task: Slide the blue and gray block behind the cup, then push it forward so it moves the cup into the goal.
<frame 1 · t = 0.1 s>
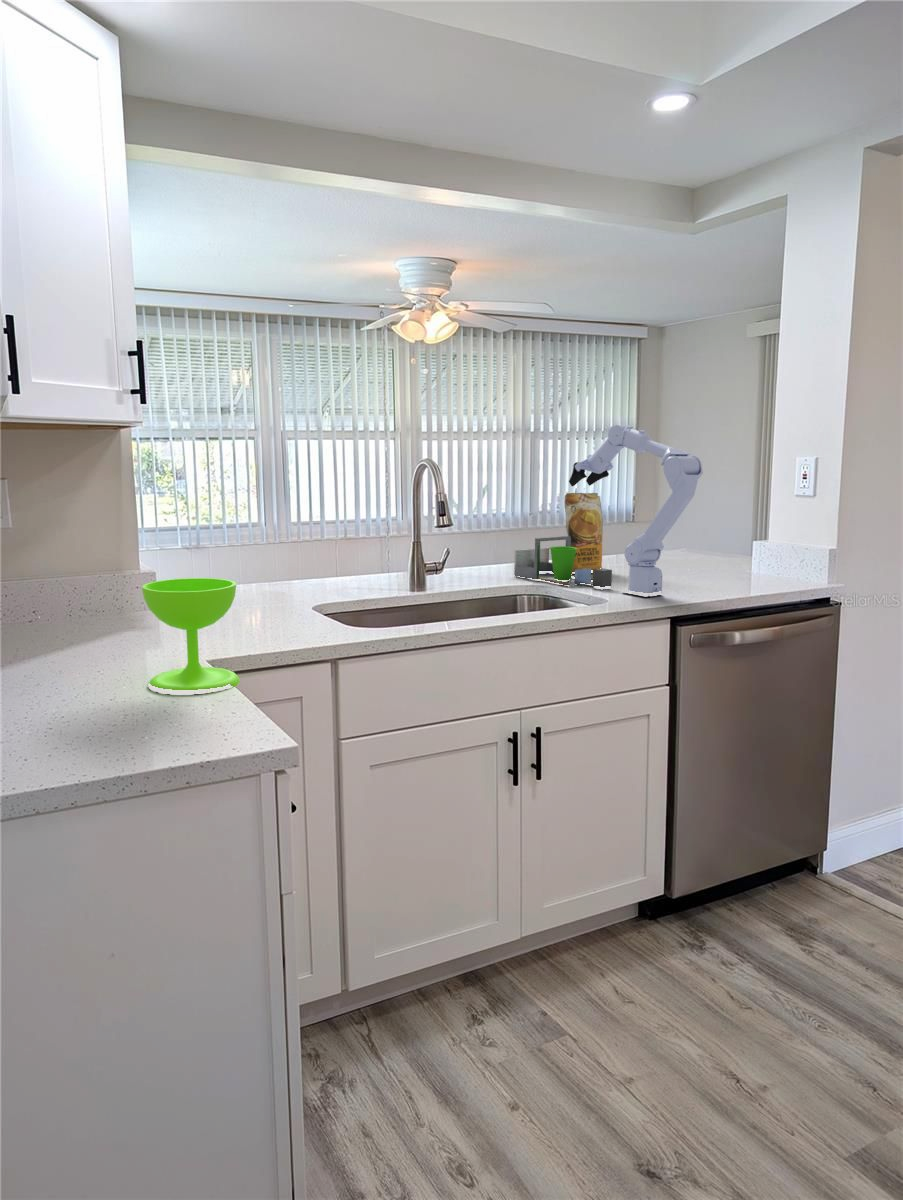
hand: (579, 483, 267), 32 cm above the worktop, tool tilted 50°, fingers open, 7 cm apart
lane rails: (567, 582, 273), on the worktop
cup: (562, 581, 275), on the worktop
goal: (551, 579, 279), on the worktop
wineglass: (194, 684, 151), on the worktop
pancake mix bag: (582, 573, 294), on the worktop
blue and gray block: (594, 577, 263), point 3 cm above the worktop, slide at 0.0 cm
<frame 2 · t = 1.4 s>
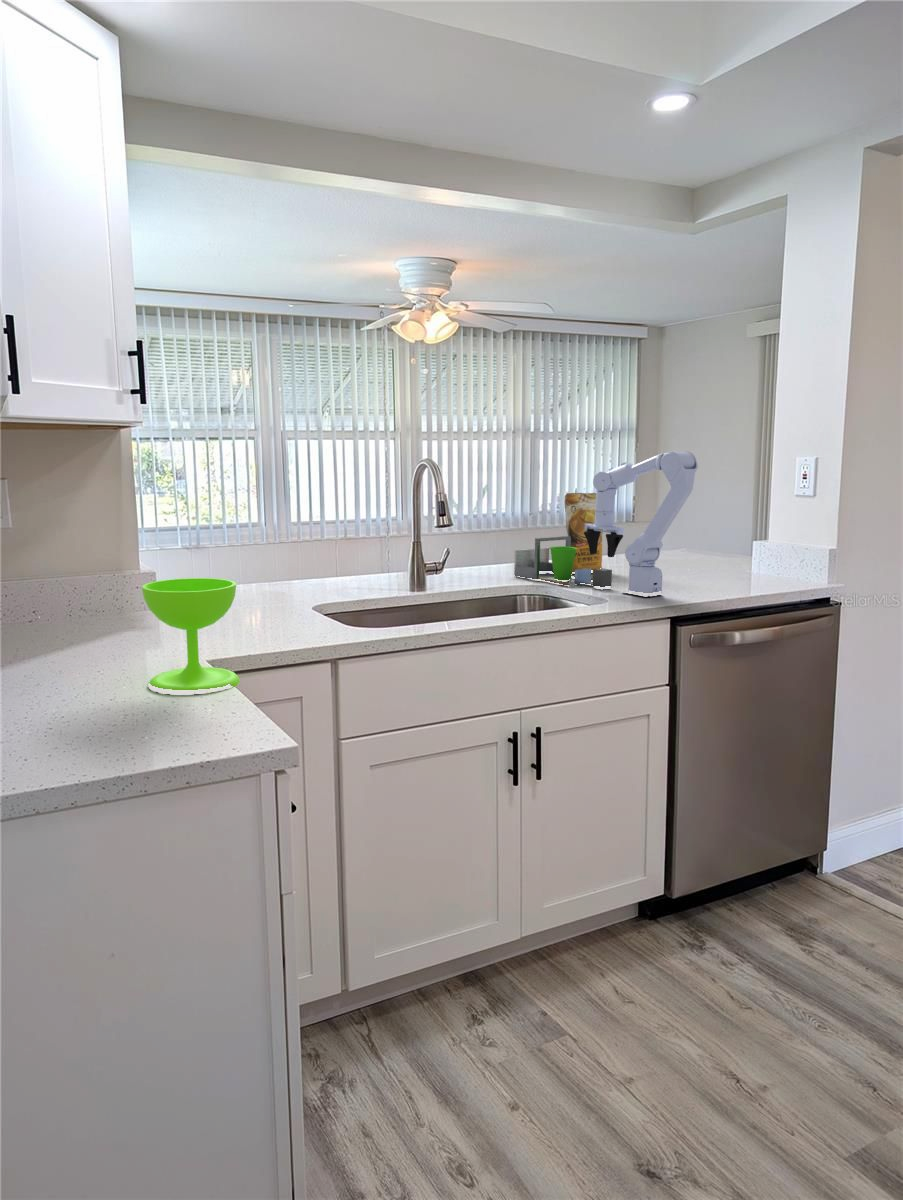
hand: (602, 555, 259), 10 cm above the worktop, tool pointing down, fingers open, 7 cm apart
nothing on the worktop moved.
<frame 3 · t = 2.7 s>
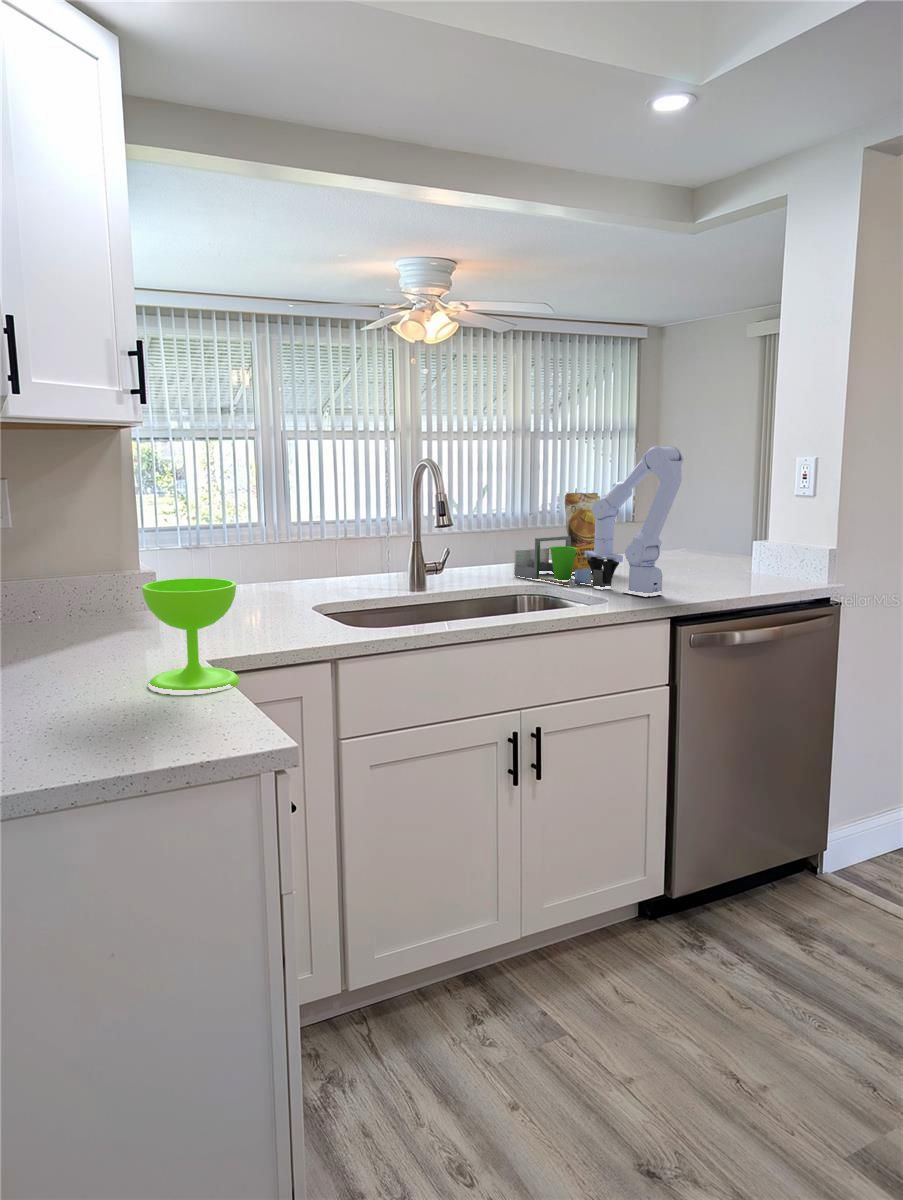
hand: (602, 582, 261), 2 cm above the worktop, tool pointing down, fingers closed on blue and gray block, 4 cm apart
blue and gray block: (594, 577, 263), point 3 cm above the worktop, slide at 0.0 cm, touching gripper
everything else where it was.
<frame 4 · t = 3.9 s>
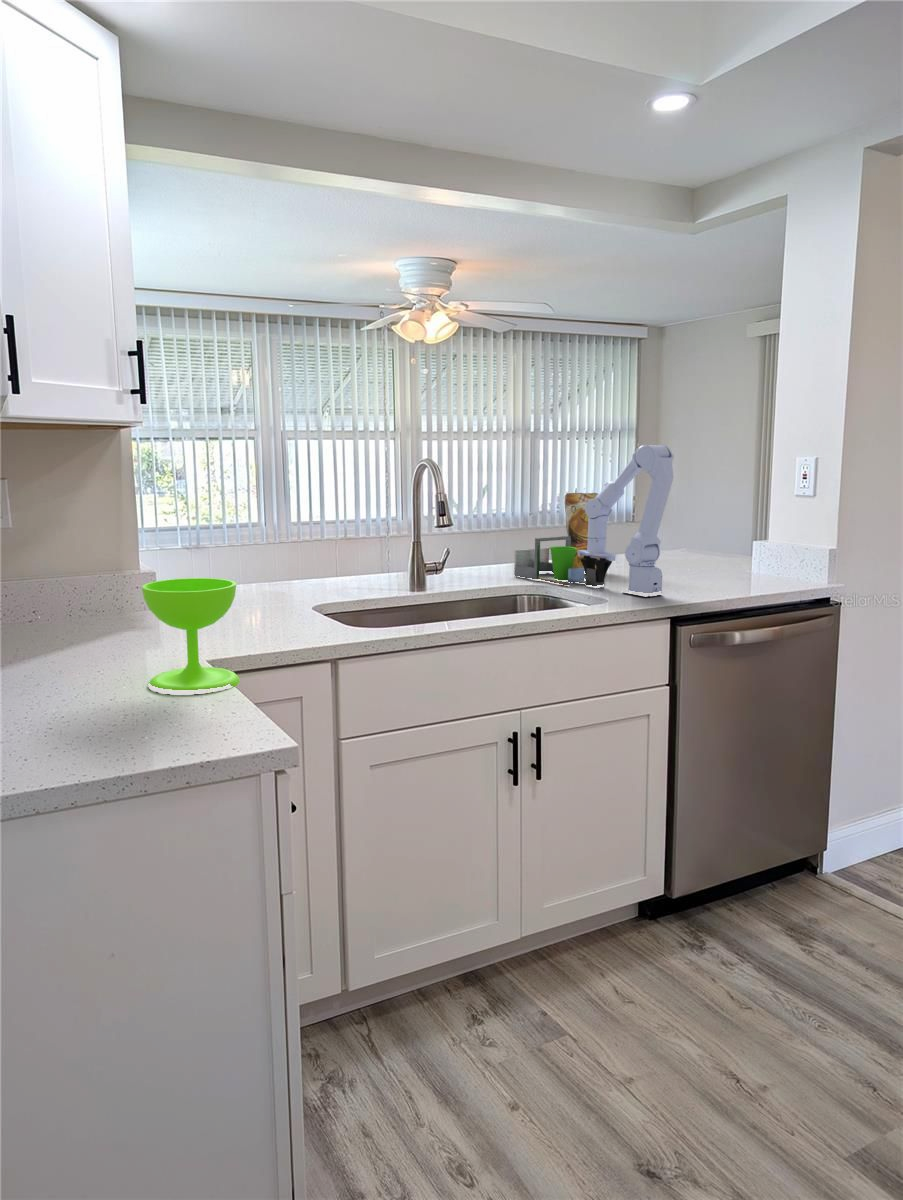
hand: (595, 581, 263), 2 cm above the worktop, tool pointing down, fingers closed on blue and gray block, 4 cm apart
blue and gray block: (587, 576, 266), point 3 cm above the worktop, slide at 3.0 cm, touching gripper
everything else where it was.
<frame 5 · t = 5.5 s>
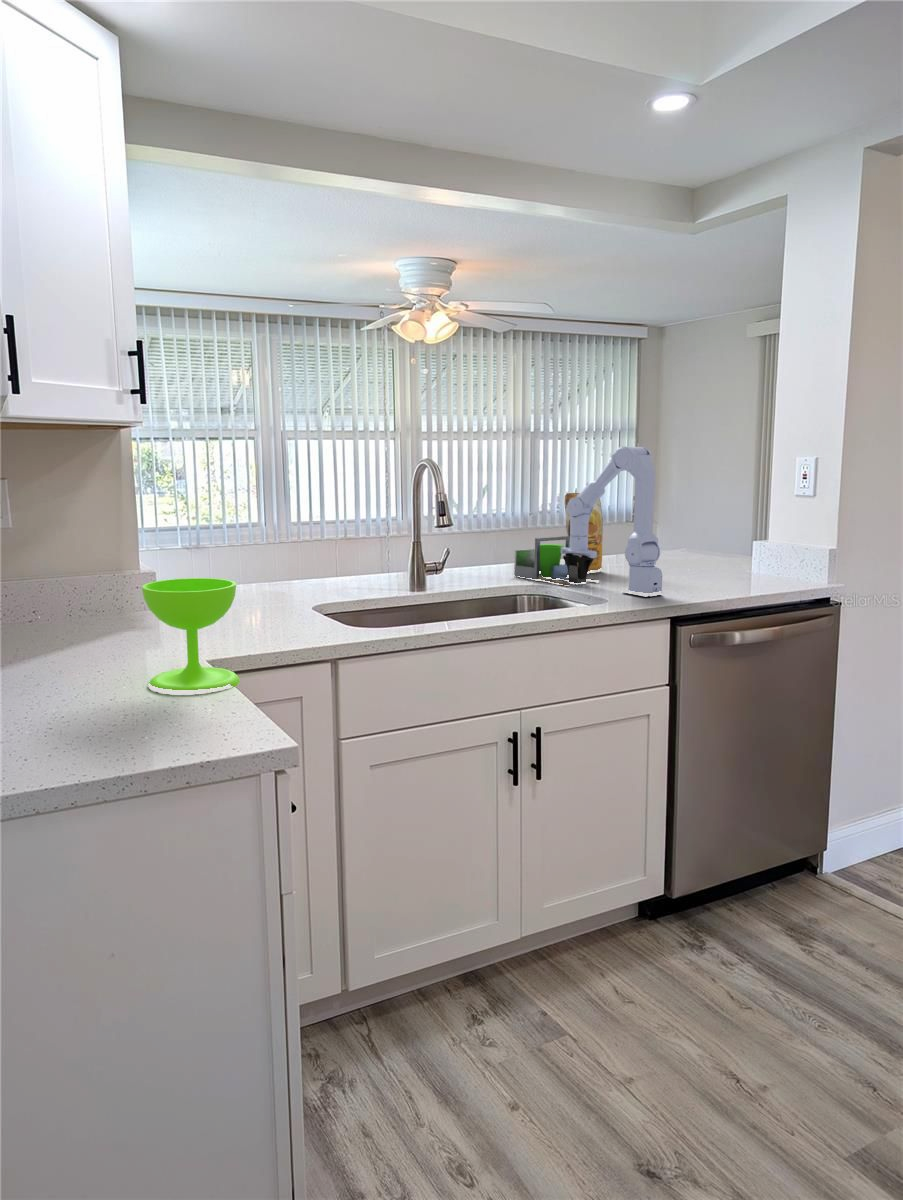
hand: (577, 578, 269), 2 cm above the worktop, tool pointing down, fingers closed on blue and gray block, 4 cm apart
cup: (549, 579, 281), on the worktop, touching blue and gray block
blue and gray block: (569, 573, 272), point 3 cm above the worktop, slide at 10.9 cm, touching cup, gripper
everything else where it was.
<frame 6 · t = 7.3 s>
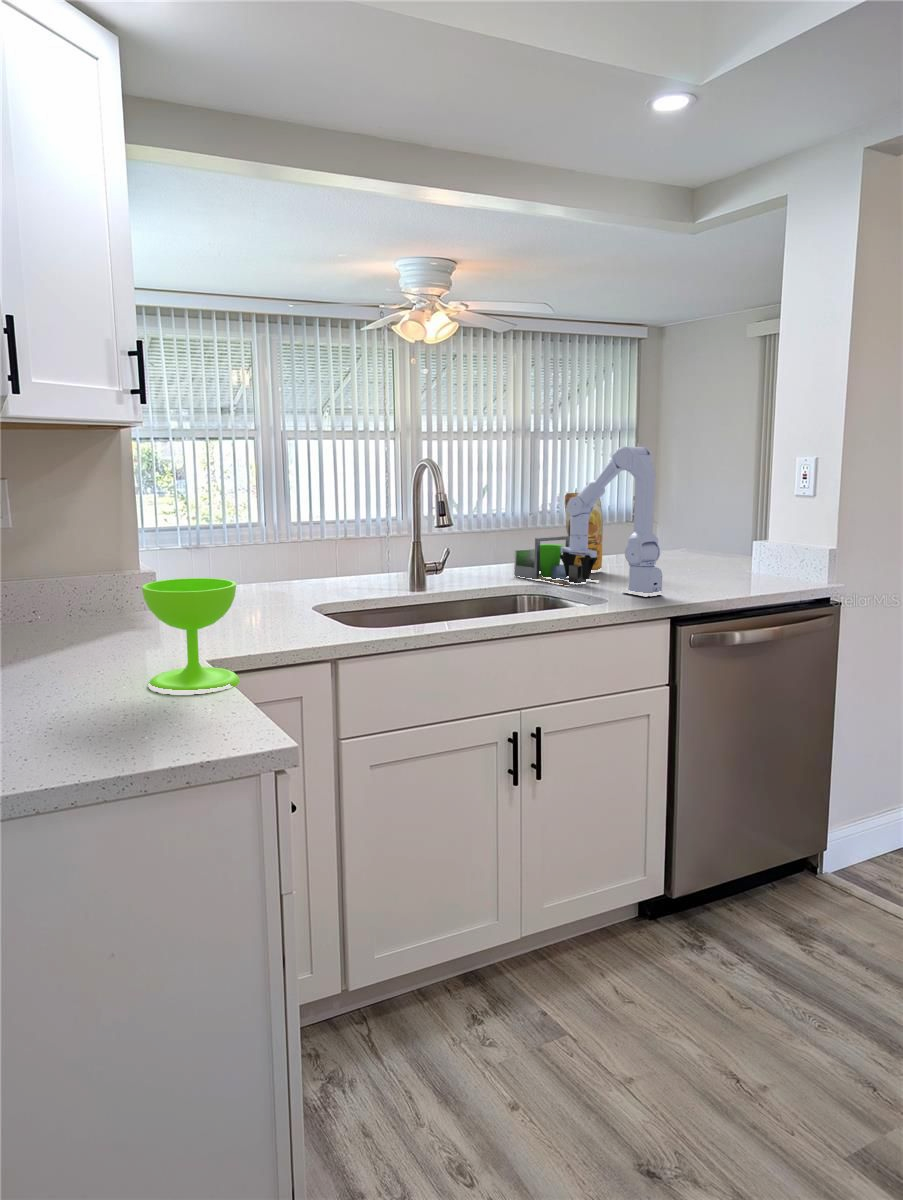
hand: (577, 577, 269), 2 cm above the worktop, tool pointing down, fingers open, 7 cm apart
cup: (549, 579, 281), on the worktop
blue and gray block: (569, 573, 272), point 3 cm above the worktop, slide at 11.0 cm
everything else where it was.
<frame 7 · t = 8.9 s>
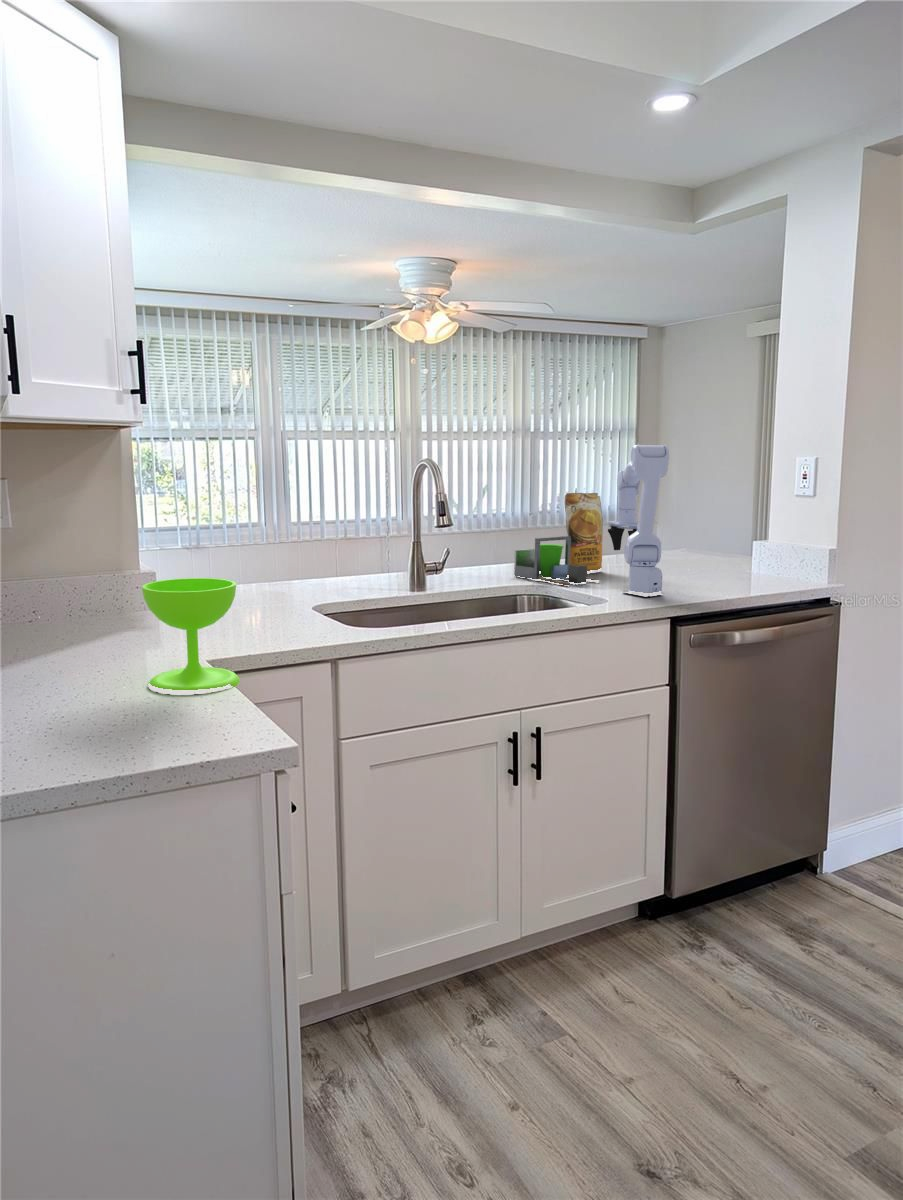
hand: (625, 551, 270), 10 cm above the worktop, tool pointing down, fingers open, 7 cm apart
nothing on the worktop moved.
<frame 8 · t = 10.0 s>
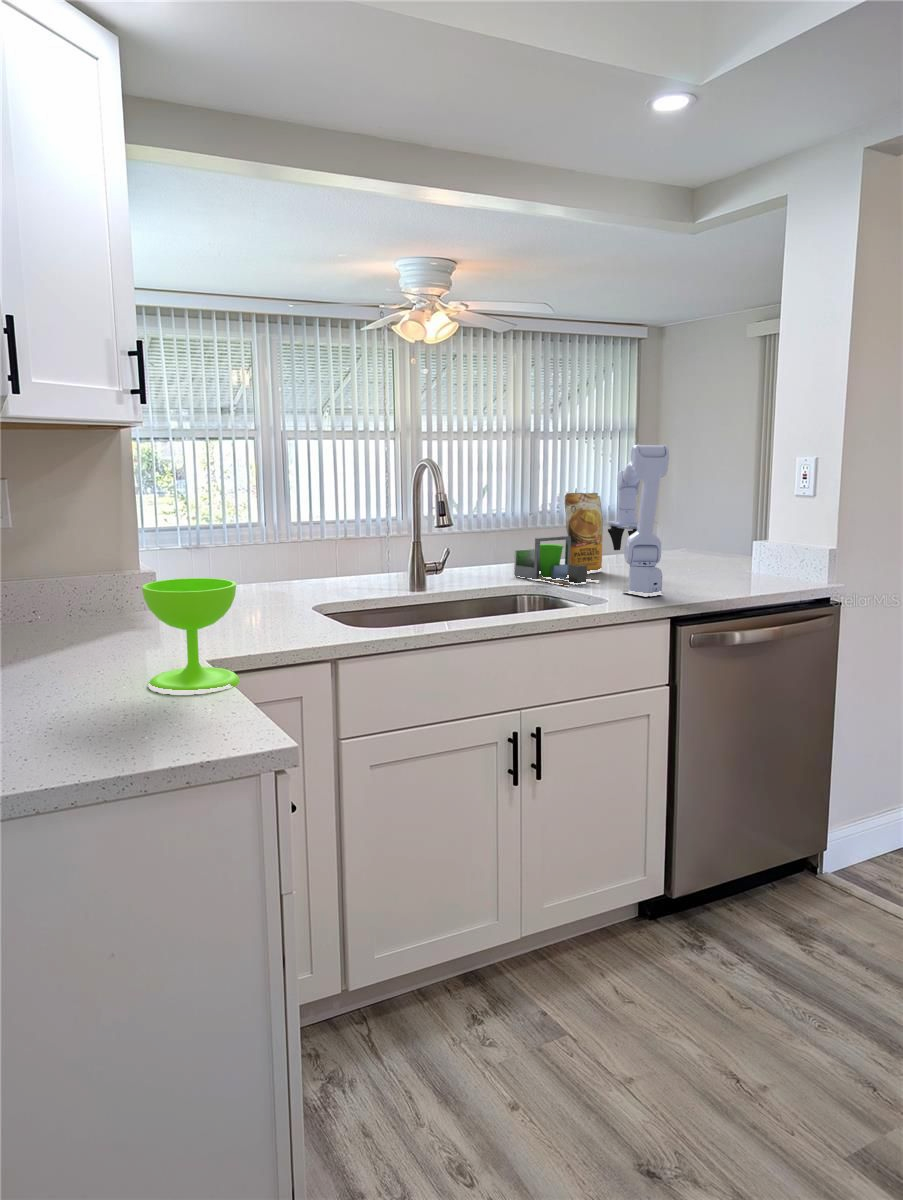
hand: (625, 551, 270), 10 cm above the worktop, tool pointing down, fingers open, 7 cm apart
nothing on the worktop moved.
at the end: cup inside the target area on the goal (3.1 cm from its centre), point 0.0 cm above the goal's base; cup tilted 0°; blue and gray block slide at 11.0 cm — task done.
